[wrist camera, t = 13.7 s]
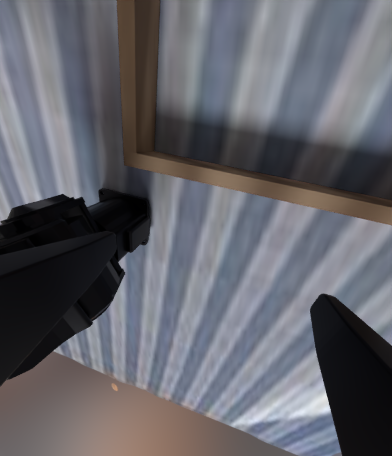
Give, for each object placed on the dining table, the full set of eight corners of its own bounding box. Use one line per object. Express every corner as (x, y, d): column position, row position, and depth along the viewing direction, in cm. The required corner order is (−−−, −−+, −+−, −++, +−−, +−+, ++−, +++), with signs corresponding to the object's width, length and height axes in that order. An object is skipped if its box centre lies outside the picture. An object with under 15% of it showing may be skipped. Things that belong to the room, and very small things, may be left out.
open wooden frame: (143, 160, 18) (124, 165, 15) (146, -148, 10) (104, -271, 7) (407, 218, 15) (448, 238, 12) (743, -176, 7) (1162, -439, 4)
